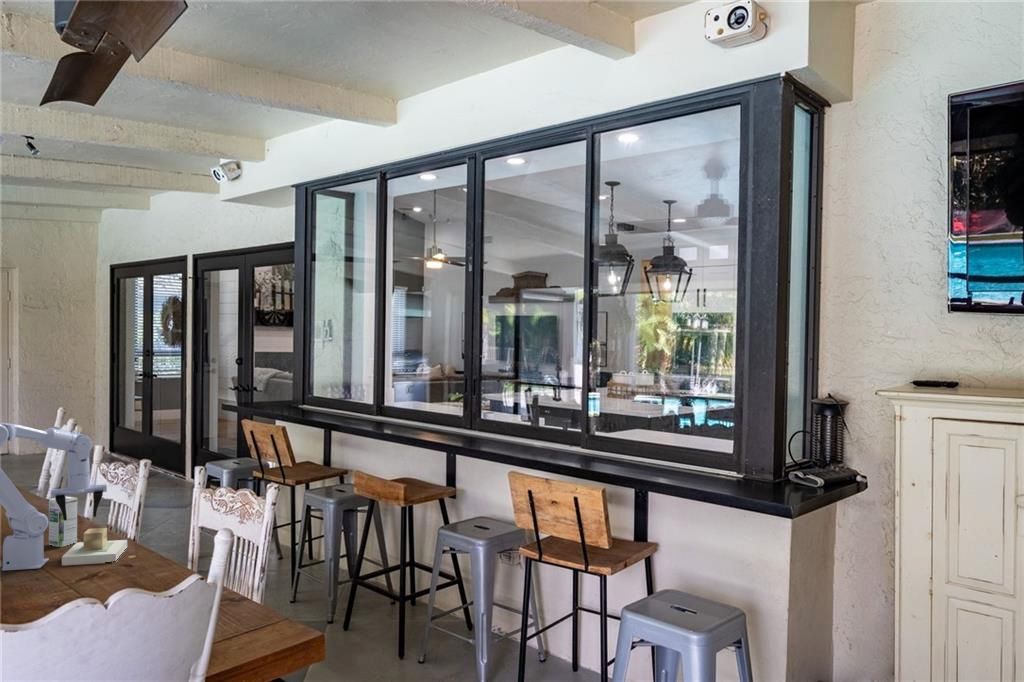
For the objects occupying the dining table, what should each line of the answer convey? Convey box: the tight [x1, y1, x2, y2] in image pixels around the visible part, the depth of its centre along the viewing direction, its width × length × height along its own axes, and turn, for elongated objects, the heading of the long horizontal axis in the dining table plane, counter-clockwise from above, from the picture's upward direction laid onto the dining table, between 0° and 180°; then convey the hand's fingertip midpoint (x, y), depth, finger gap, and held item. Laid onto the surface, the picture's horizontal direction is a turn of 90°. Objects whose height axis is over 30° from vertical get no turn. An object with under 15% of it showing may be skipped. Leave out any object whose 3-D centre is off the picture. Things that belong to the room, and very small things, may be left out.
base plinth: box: [61, 539, 128, 567], centre depth 225 cm, size 14×14×3 cm
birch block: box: [83, 527, 108, 550], centre depth 225 cm, size 5×5×5 cm
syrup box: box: [48, 495, 78, 548], centre depth 236 cm, size 6×6×14 cm
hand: (80, 517), depth 229 cm, fingers open, 7 cm apart
